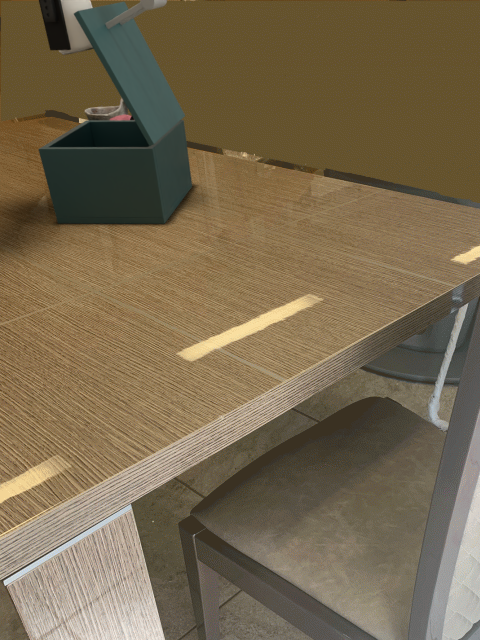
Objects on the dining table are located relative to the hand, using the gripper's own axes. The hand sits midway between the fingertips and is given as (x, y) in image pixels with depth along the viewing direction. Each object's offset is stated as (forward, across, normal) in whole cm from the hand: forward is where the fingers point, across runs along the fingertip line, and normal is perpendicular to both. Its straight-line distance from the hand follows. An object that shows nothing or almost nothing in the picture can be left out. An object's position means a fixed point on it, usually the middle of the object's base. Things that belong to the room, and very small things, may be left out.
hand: (70, 46), depth 92 cm
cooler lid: (+4, -3, +8) cm, 9 cm away
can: (+1, 0, +2) cm, 2 cm away
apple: (+23, -28, -3) cm, 37 cm away
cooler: (+23, -2, +3) cm, 24 cm away
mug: (+23, -45, -12) cm, 52 cm away
